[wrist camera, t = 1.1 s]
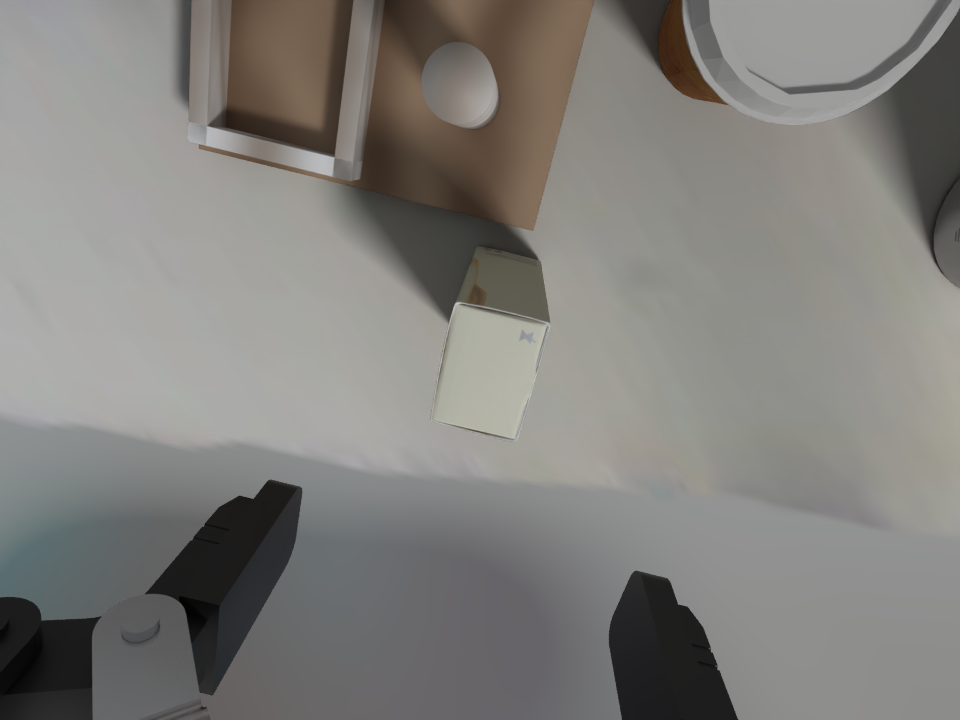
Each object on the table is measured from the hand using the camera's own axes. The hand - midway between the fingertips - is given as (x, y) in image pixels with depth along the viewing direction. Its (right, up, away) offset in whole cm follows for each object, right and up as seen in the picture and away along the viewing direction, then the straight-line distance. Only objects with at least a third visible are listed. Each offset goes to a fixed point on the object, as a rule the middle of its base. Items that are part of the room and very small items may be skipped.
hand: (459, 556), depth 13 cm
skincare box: (+2, +9, +23) cm, 24 cm away
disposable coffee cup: (+13, +22, +16) cm, 31 cm away
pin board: (-4, +24, +17) cm, 30 cm away
